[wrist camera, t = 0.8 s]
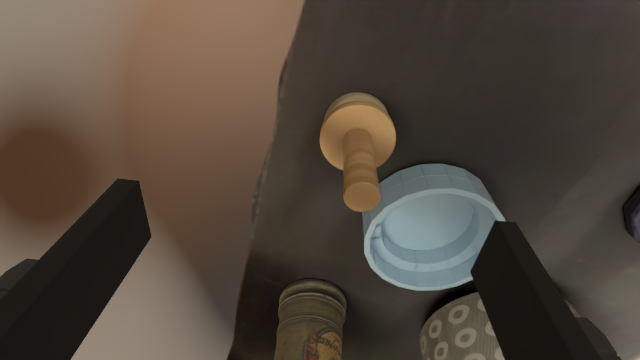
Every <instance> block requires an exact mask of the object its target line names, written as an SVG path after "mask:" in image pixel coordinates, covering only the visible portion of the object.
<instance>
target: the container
mask: <svg viewBox="0 0 640 360" xmlns="http://www.w3.org/2000/svg"><path fill="white" fill-rule="evenodd" d="M346 306H347V305H346V299H345V297H344V294H343V293H342V291H341V290H340V289H339V288H338V287H336V286H335V285H333V284H331V283H329V282H327V281H323V280H319V279H303V280H298V281H295V282H293V283H291V284H289V285H288V286H287V287H286V288H285V289H284V290H283V292H282V294H281V296H280V299H279V310H278V316H279V320H280V322H279V327H278V330H277V344H276V351H275V357H274V360H341V346H342V341H343V334H342V325H343V324H344V321H345V317H346V315H345V312H346Z"/></svg>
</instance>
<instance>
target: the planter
mask: <svg viewBox="0 0 640 360" xmlns="http://www.w3.org/2000/svg"><path fill="white" fill-rule="evenodd" d="M565 302H566V303H567V305H568V306H569V308H570V310H571V311H572V313H573V314H574V316H575V317H580V316H579V314H578V313H577V311H576V310H575V309H574V307H573V306H572V305H571V304H570V303H568V302H567V301H566V300H565ZM419 345H420V350H421V356H422V360H505V359H504V356H503V354H502V351H501V349H500V346H499V344H498V341H497V338H496V336H495V333H494V331H493V328H492V326H491V323H490V321H489V318H488V316H487V313H486V311H485V308H484V305H483V303H482V300H481V298H480V295H479V293H478V292H475V293H472V294H469V295H466V296H463V297H461V298H458V299H456V300H454V301H452V302H450V303H448V304H446V305H445V306H443V307H442V308H440V309H439V310H437V311H436V312H435V313H434V314H433V315H432V316H431V317H430V318H429V319H428V320H427V321H426V323H425V324H424V326H423V328H422V330H421V332H420V337H419Z"/></svg>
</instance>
